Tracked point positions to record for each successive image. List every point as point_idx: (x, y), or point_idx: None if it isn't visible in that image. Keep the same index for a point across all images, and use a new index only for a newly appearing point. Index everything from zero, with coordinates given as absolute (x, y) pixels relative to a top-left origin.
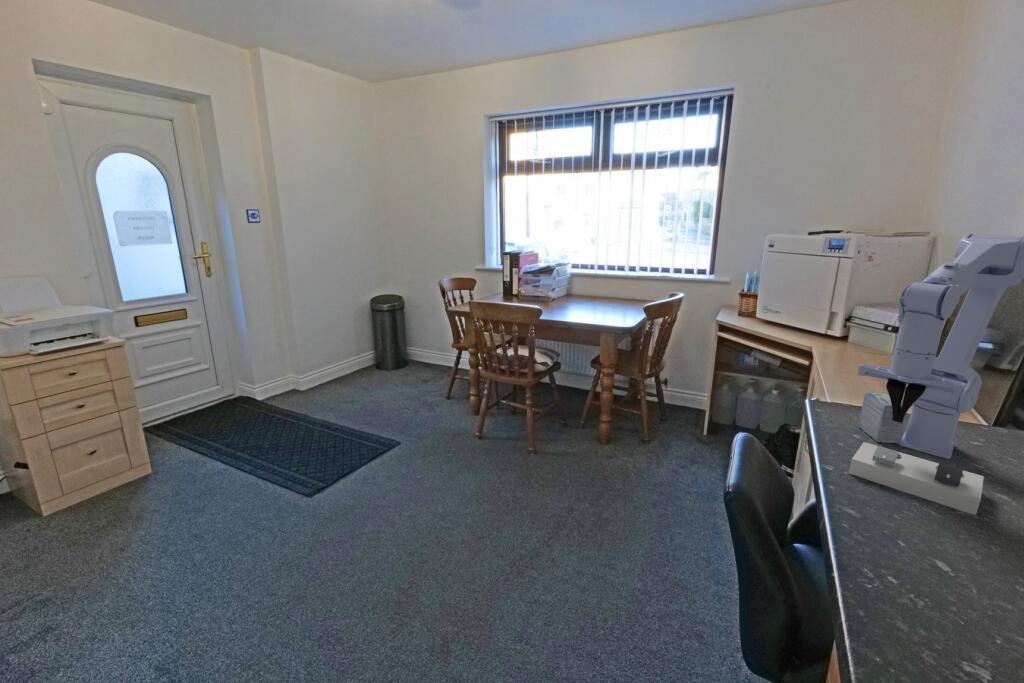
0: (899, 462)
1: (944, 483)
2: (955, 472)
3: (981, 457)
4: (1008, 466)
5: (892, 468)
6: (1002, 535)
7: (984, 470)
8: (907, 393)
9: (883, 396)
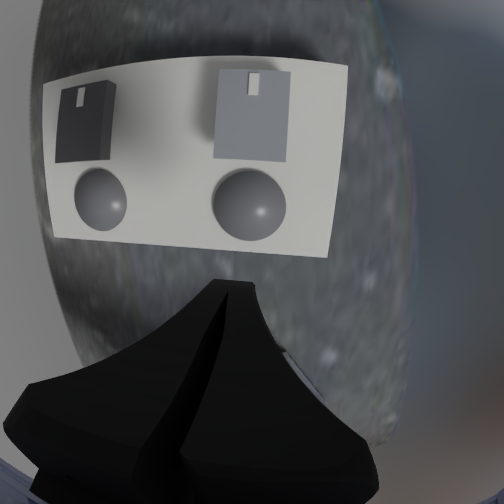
0: (211, 153)
1: None
2: (67, 134)
3: None
4: None
5: None
6: (45, 47)
7: (101, 336)
8: (126, 415)
9: None
